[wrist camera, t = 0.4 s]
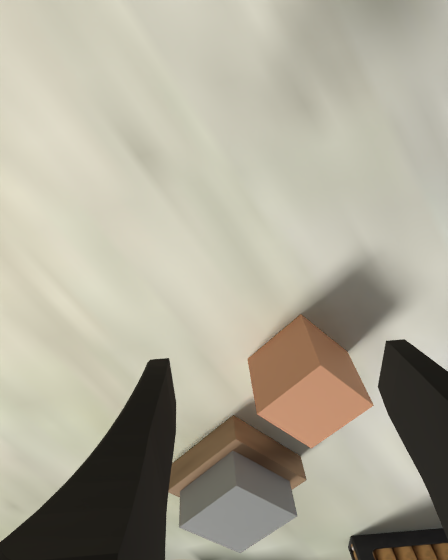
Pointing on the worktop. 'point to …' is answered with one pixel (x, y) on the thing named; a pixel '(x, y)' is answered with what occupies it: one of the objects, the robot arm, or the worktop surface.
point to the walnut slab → (242, 441)
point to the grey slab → (236, 503)
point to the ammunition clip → (400, 546)
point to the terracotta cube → (306, 383)
